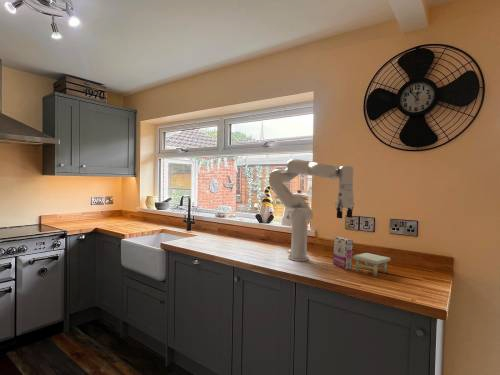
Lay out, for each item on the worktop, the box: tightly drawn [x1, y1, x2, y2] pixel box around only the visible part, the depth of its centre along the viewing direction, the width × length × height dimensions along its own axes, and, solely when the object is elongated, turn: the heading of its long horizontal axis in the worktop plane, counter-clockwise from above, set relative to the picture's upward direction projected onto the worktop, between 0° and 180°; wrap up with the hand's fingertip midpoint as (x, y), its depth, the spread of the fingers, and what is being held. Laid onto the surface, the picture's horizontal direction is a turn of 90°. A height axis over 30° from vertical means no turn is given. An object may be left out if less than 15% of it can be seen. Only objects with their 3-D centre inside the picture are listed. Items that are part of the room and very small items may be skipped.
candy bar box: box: [332, 236, 354, 271], centre depth 169 cm, size 11×5×16 cm, turn 21°
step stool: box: [352, 252, 391, 277], centre depth 162 cm, size 14×14×8 cm
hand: (344, 217), depth 169 cm, fingers open, 9 cm apart
